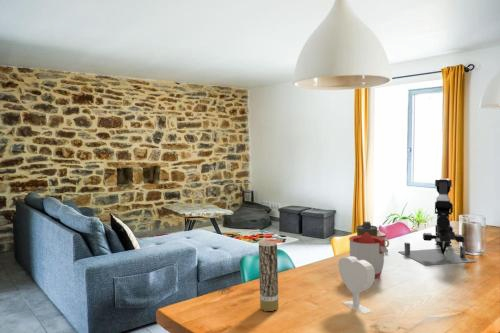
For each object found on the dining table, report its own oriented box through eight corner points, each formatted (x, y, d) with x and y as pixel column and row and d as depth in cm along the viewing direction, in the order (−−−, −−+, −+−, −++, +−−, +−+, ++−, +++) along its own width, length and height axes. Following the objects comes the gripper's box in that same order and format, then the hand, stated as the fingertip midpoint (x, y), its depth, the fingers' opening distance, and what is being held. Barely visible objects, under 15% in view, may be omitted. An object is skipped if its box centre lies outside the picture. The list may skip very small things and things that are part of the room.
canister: (380, 263, 203) (380, 223, 202) (359, 263, 203) (359, 224, 202) (374, 257, 213) (373, 219, 212) (354, 257, 214) (354, 220, 213)
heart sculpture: (376, 312, 144) (376, 263, 143) (366, 315, 141) (365, 265, 140) (347, 298, 157) (346, 253, 156) (337, 301, 155) (336, 255, 154)
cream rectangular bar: (442, 251, 218) (442, 242, 217) (445, 251, 217) (445, 242, 217) (447, 260, 201) (447, 250, 201) (451, 260, 200) (451, 250, 200)
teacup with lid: (365, 249, 228) (365, 229, 228) (375, 247, 234) (375, 227, 233) (383, 254, 219) (383, 232, 218) (393, 251, 224) (393, 230, 223)
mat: (443, 249, 226) (443, 248, 226) (475, 262, 200) (475, 261, 200) (398, 252, 221) (398, 251, 221) (426, 265, 196) (426, 265, 196)
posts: (448, 251, 221) (448, 239, 220) (466, 258, 207) (466, 245, 206) (404, 254, 217) (404, 242, 216) (419, 261, 203) (419, 249, 202)
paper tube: (267, 303, 154) (266, 239, 153) (282, 308, 150) (280, 241, 149) (256, 309, 149) (254, 243, 148) (271, 314, 145) (269, 245, 143)
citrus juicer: (381, 284, 172) (381, 238, 171) (343, 276, 183) (343, 233, 182) (393, 274, 185) (393, 231, 184) (357, 268, 195) (356, 227, 194)
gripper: (425, 226, 201) (425, 257, 202) (466, 228, 195) (466, 259, 196) (422, 222, 211) (422, 251, 212) (462, 223, 206) (461, 253, 207)
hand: (442, 254), depth 206 cm, fingers closed
